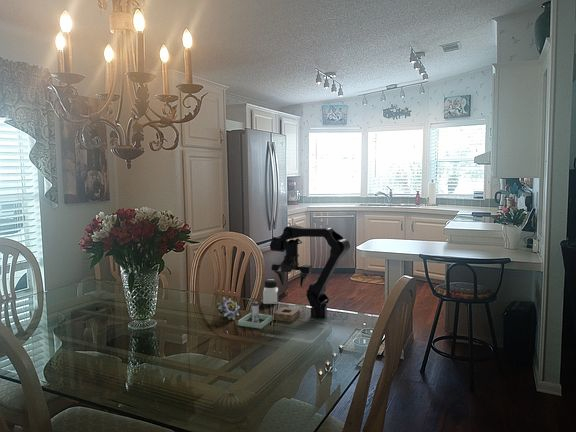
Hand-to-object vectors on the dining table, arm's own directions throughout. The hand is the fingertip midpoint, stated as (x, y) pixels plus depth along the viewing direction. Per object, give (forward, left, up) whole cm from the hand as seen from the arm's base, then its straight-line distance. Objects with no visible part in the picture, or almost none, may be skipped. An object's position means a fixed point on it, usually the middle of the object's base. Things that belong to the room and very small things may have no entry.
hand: (292, 286), depth 206 cm
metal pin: (+9, +20, -12) cm, 25 cm away
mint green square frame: (+9, +20, -13) cm, 25 cm away
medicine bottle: (+16, -10, -13) cm, 23 cm away
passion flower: (+25, +17, -13) cm, 33 cm away
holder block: (-1, +9, -13) cm, 16 cm away
